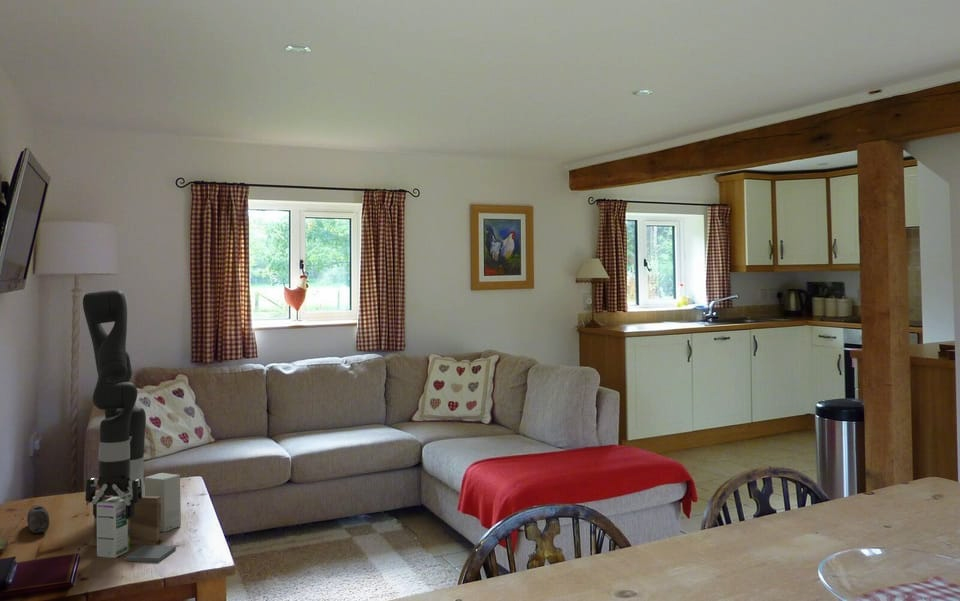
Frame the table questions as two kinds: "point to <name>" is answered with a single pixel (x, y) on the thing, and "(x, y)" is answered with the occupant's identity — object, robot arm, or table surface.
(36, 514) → the perforated stone tool
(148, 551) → the mat
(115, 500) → the syrup box
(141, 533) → the brown wooden standing panel
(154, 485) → the skincare box
